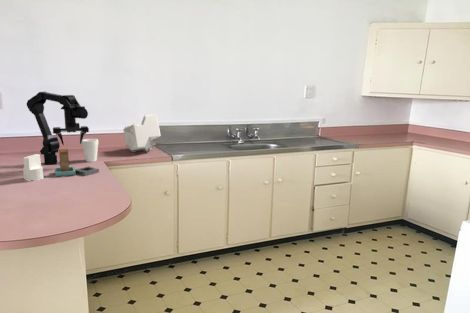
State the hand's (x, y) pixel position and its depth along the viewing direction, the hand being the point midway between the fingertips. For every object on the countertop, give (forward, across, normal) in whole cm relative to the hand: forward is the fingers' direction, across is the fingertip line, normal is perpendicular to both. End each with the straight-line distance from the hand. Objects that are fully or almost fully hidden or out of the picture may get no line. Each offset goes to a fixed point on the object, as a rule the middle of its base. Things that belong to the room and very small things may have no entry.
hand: (71, 144), depth 222 cm
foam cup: (+13, +11, +12) cm, 21 cm away
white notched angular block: (+13, +46, +29) cm, 56 cm away
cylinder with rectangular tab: (+13, -20, -20) cm, 31 cm away
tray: (+13, -5, -16) cm, 21 cm away
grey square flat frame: (+13, +6, -17) cm, 22 cm away
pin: (+12, -5, -16) cm, 21 cm away
